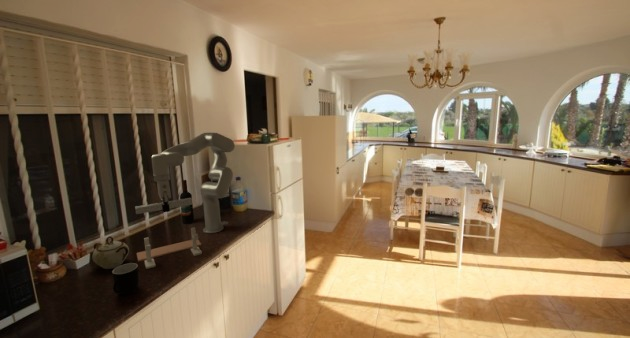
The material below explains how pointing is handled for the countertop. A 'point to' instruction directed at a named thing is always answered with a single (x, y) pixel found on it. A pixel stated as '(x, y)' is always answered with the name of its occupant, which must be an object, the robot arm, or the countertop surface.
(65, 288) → the countertop surface
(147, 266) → the shelf brackets
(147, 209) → the steel rail
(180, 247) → the terracotta mat
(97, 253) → the sugar bowl
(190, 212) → the wine bottle
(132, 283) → the mug
